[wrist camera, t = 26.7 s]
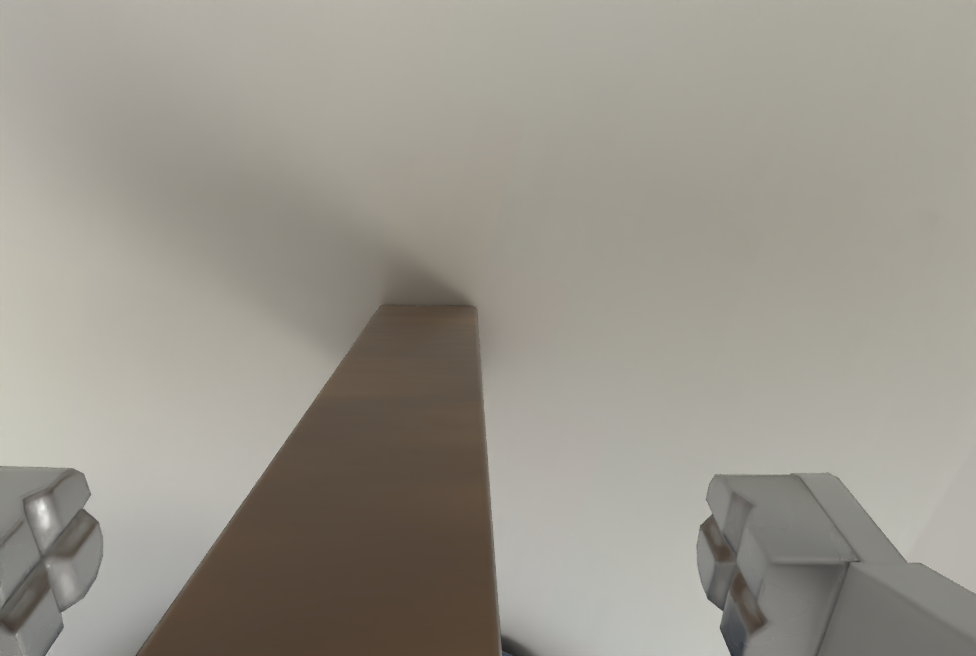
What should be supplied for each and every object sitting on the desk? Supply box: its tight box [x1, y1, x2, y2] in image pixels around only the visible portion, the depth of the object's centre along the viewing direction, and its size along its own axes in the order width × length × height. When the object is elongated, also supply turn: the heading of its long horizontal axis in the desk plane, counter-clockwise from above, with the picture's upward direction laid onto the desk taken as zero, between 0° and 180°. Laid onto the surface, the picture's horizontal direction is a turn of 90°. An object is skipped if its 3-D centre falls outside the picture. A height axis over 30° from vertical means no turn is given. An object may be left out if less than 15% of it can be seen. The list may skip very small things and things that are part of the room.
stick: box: [136, 305, 502, 656], centre depth 10 cm, size 2×2×14 cm
